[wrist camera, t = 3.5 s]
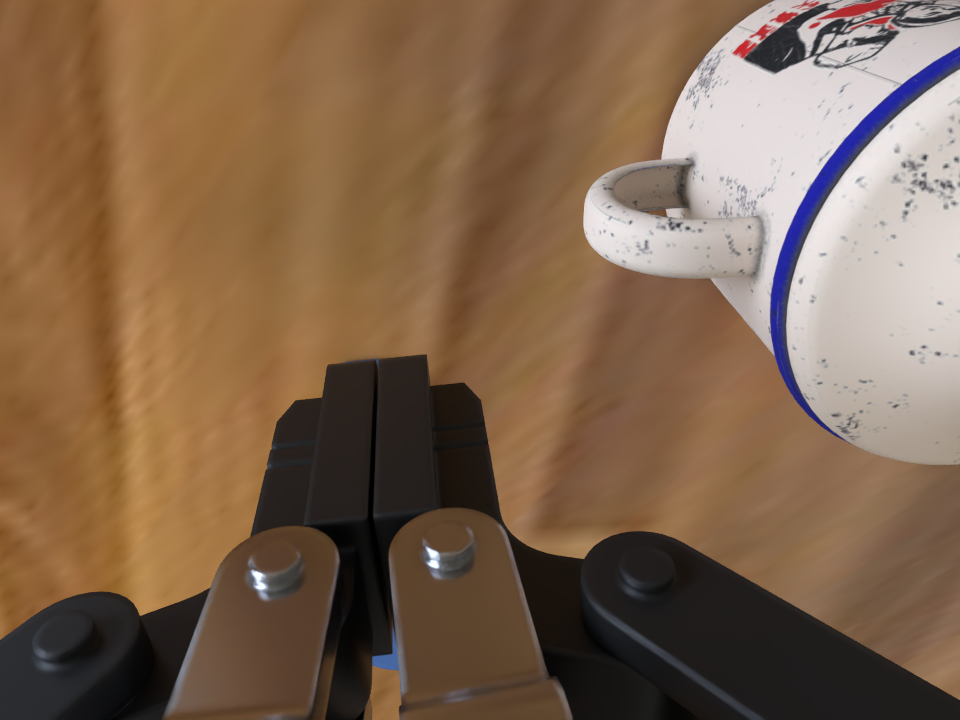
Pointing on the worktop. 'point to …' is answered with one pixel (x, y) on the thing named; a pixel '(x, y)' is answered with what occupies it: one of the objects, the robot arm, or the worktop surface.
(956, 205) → the teacup with lid
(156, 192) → the worktop surface
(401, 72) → the worktop surface
